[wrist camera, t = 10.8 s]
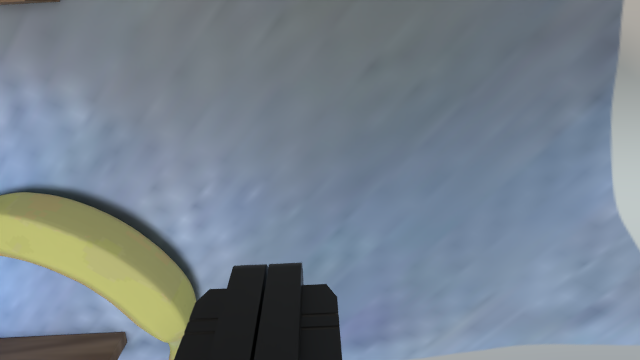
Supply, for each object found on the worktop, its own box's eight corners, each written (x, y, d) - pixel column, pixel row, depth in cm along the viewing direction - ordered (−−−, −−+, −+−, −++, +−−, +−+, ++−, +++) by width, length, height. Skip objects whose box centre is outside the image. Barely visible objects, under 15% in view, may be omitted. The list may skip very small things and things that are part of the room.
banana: (29, 177, 32) (226, 377, 40) (77, 135, 36) (245, 322, 44) (-90, 251, 37) (104, 415, 45) (-35, 206, 42) (133, 362, 50)
